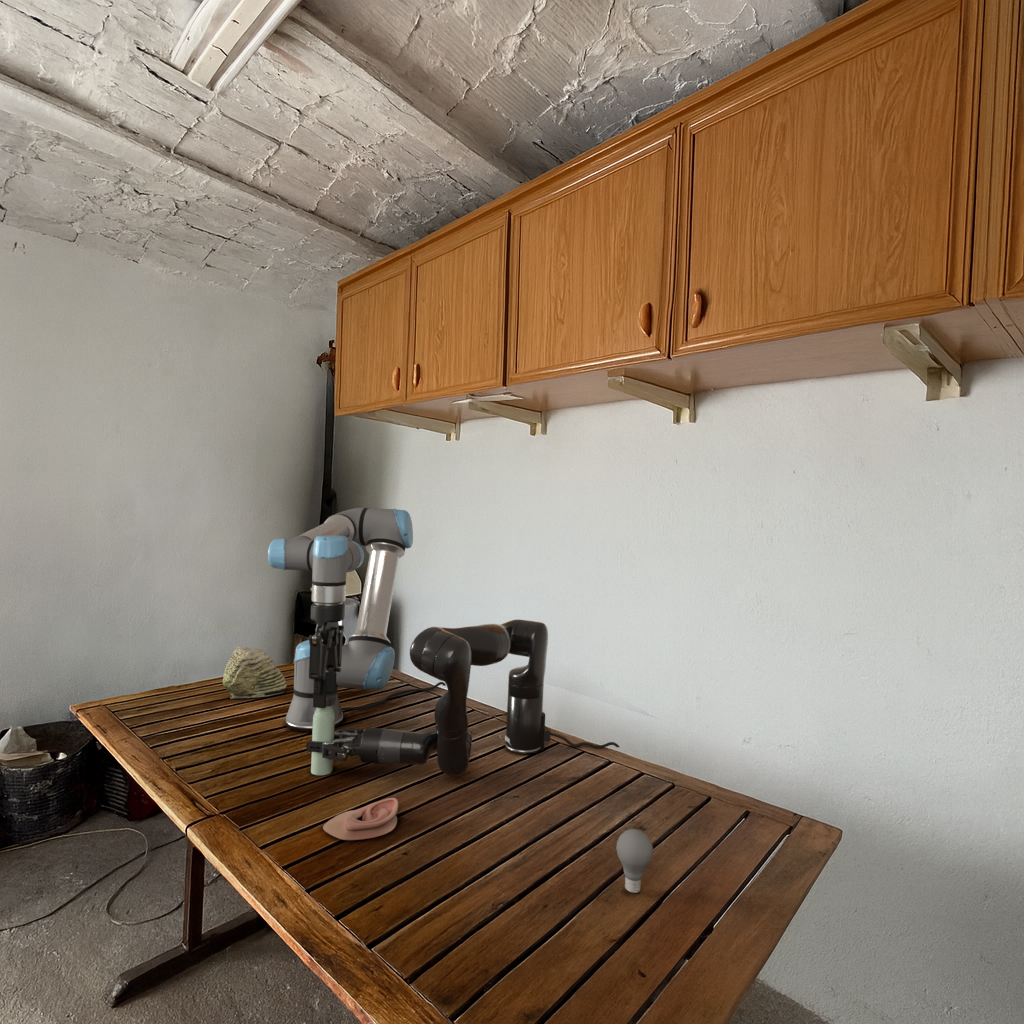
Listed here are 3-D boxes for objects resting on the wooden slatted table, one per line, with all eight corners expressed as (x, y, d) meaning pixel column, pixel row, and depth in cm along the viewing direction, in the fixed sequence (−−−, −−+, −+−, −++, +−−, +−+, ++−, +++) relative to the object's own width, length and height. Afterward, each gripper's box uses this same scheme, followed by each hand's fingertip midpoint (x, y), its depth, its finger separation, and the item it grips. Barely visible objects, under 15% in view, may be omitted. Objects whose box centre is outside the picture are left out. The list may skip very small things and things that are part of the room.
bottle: (306, 773, 145) (309, 698, 144) (320, 765, 149) (322, 693, 149) (323, 777, 143) (326, 702, 143) (336, 769, 148) (339, 696, 147)
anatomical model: (315, 814, 118) (343, 787, 129) (314, 835, 118) (343, 807, 129) (382, 825, 115) (405, 796, 127) (381, 846, 116) (404, 816, 127)
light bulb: (610, 879, 108) (613, 822, 108) (644, 879, 109) (647, 822, 109) (619, 902, 102) (622, 840, 102) (655, 901, 103) (658, 840, 103)
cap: (322, 699, 149) (323, 690, 149) (339, 702, 147) (339, 693, 147) (309, 704, 145) (309, 695, 145) (326, 708, 143) (326, 699, 143)
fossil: (218, 695, 195) (220, 647, 195) (278, 685, 208) (279, 640, 207) (228, 703, 189) (230, 653, 188) (289, 692, 201) (290, 645, 201)
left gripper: (329, 596, 155) (325, 691, 155) (294, 607, 137) (290, 714, 138) (358, 598, 154) (354, 693, 154) (326, 610, 136) (322, 718, 137)
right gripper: (392, 719, 152) (322, 714, 153) (376, 741, 138) (299, 736, 139) (391, 750, 152) (321, 745, 153) (375, 776, 138) (298, 770, 139)
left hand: (324, 703), depth 146 cm, fingers closed on cap, 5 cm apart
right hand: (311, 741), depth 146 cm, fingers closed on bottle, 4 cm apart
